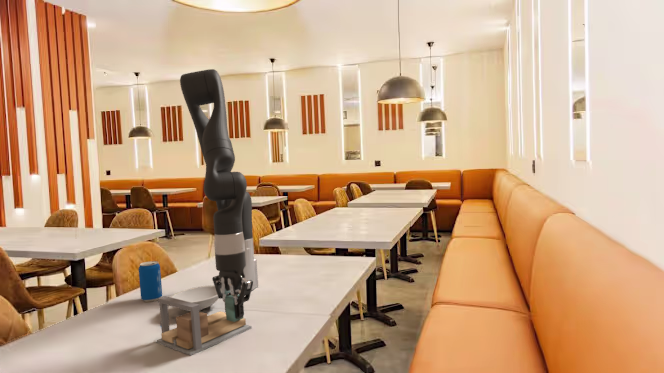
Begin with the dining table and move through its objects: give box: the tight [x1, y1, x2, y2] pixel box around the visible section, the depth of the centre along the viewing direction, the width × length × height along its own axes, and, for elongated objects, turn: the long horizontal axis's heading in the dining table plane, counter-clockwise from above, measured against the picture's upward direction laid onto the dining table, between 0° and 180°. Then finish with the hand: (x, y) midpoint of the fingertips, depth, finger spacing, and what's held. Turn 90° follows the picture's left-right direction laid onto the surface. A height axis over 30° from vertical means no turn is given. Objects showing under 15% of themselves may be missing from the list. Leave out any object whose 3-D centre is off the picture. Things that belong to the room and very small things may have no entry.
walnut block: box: [175, 311, 209, 342], centre depth 101 cm, size 5×5×5 cm
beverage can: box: [138, 260, 163, 303], centre depth 141 cm, size 6×6×12 cm
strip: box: [176, 294, 247, 349], centre depth 106 cm, size 17×5×8 cm, turn 143°
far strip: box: [160, 327, 178, 343], centre depth 106 cm, size 8×5×2 cm, turn 143°
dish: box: [170, 284, 222, 312], centre depth 128 cm, size 18×14×5 cm
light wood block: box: [207, 310, 227, 326], centre depth 114 cm, size 7×5×2 cm, turn 143°
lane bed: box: [156, 295, 252, 356], centre depth 108 cm, size 18×14×11 cm
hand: (234, 316), depth 111 cm, fingers closed on strip, 3 cm apart
